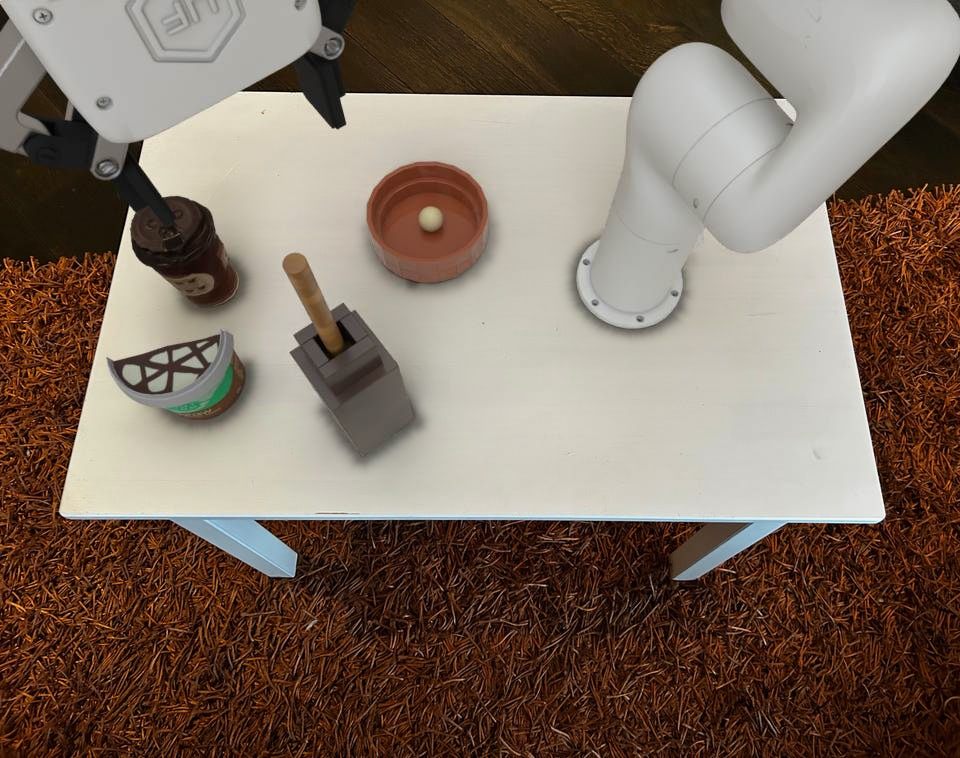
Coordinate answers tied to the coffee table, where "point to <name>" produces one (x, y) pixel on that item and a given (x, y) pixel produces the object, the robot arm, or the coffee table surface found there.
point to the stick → (314, 302)
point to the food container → (184, 377)
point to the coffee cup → (186, 251)
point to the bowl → (404, 237)
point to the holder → (356, 381)
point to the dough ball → (430, 219)
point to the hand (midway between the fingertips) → (244, 156)
